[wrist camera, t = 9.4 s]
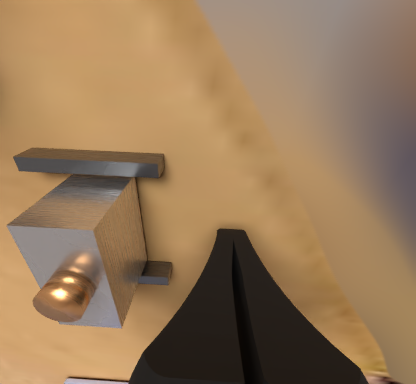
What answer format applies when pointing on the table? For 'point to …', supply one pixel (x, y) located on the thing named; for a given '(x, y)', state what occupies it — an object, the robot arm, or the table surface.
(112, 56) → the table surface
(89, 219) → the silver metal block
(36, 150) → the press frame
